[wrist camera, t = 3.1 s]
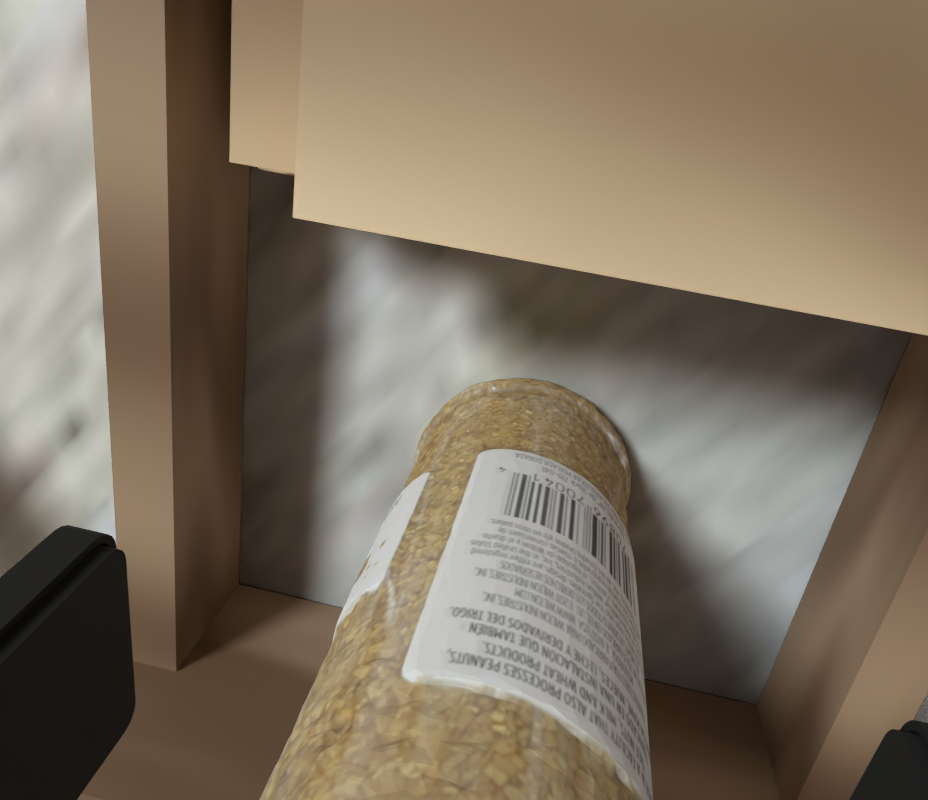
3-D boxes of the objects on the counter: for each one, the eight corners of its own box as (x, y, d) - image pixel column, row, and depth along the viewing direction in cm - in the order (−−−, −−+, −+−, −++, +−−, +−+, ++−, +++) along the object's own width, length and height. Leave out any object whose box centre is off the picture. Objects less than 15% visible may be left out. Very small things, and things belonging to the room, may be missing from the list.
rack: (788, 764, 18) (870, 1064, 12) (193, 620, 19) (32, 834, 14) (1161, -43, 11) (1716, -160, 5) (189, -176, 12) (-138, -376, 7)
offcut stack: (889, 266, 13) (1018, 352, 9) (290, 160, 14) (164, 194, 10) (988, 13, 12) (1199, -22, 7) (302, -87, 13) (158, -166, 8)
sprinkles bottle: (378, 436, 16) (-294, 1519, 4) (559, 329, 15) (346, 1592, 2) (496, 591, 17) (248, 1813, 5) (676, 507, 16) (937, 2001, 4)
